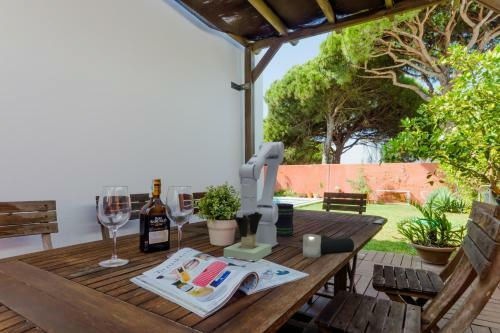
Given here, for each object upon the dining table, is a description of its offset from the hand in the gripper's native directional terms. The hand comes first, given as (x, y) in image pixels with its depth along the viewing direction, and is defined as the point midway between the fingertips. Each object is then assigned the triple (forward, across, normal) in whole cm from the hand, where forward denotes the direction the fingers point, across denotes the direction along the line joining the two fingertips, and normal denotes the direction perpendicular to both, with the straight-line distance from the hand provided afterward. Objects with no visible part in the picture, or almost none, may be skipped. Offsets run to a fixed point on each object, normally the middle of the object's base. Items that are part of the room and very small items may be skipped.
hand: (248, 234), depth 109 cm
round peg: (+7, +12, -20) cm, 24 cm away
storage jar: (+8, +39, +2) cm, 40 cm away
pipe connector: (+8, +23, -23) cm, 34 cm away
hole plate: (+7, 0, 0) cm, 7 cm away
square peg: (+7, 0, 0) cm, 7 cm away
